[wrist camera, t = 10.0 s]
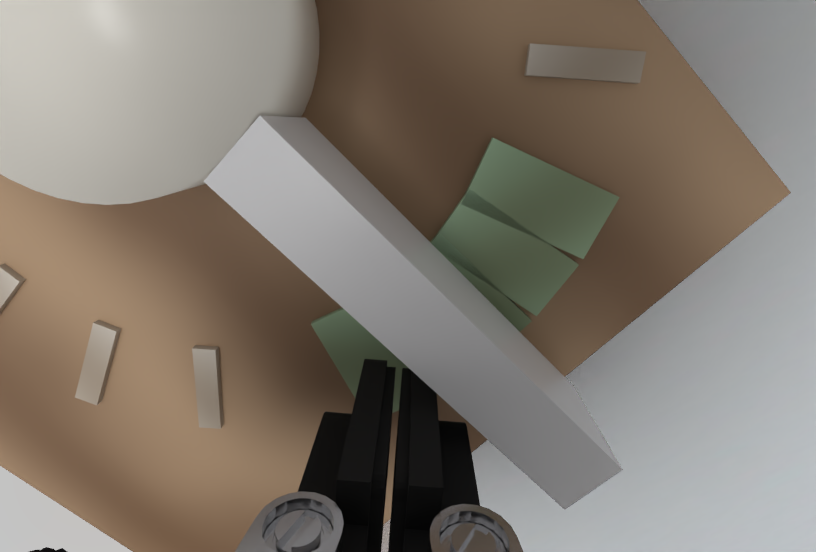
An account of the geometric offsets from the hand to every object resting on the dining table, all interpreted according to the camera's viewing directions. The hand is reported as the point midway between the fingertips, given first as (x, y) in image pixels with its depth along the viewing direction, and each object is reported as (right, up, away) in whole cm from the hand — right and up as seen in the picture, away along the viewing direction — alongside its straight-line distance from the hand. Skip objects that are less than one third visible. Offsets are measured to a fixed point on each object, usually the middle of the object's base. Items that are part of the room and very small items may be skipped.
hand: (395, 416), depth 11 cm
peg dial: (-1, +5, -1) cm, 5 cm away
